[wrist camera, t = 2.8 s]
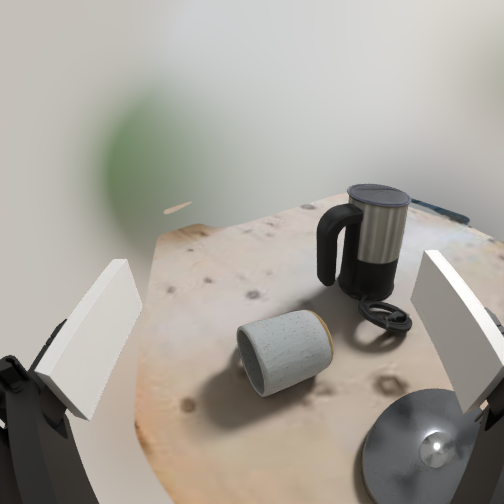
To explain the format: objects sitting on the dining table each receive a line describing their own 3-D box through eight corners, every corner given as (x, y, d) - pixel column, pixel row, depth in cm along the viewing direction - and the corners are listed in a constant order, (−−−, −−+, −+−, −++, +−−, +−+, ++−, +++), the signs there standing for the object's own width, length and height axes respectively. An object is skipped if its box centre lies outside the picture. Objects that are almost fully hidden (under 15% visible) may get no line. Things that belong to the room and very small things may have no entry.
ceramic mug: (333, 378, 28) (344, 330, 24) (266, 410, 25) (262, 366, 21) (287, 323, 36) (287, 274, 32) (228, 344, 34) (219, 296, 30)
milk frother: (361, 261, 47) (369, 179, 40) (436, 301, 36) (462, 210, 28) (303, 295, 41) (305, 198, 33) (389, 355, 29) (424, 245, 22)
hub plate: (408, 374, 26) (411, 368, 25) (503, 422, 16) (509, 417, 15) (327, 477, 18) (329, 474, 17) (446, 540, 8) (453, 539, 7)
